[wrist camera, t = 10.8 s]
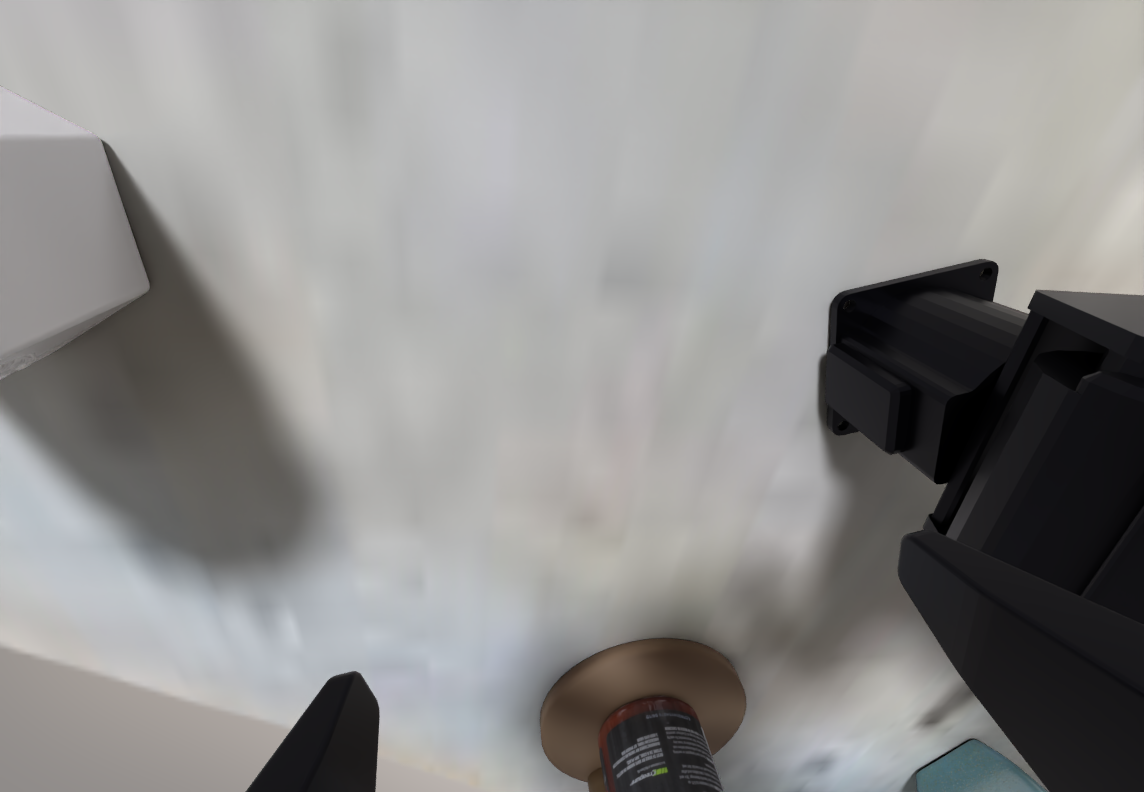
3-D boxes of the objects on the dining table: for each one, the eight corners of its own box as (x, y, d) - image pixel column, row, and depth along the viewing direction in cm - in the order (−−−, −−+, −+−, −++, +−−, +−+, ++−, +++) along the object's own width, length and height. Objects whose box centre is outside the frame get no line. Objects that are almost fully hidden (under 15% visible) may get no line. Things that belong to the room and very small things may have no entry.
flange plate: (592, 620, 27) (619, 764, 21) (776, 659, 31) (847, 793, 24) (507, 760, 32) (509, 912, 26) (676, 780, 35) (714, 919, 29)
